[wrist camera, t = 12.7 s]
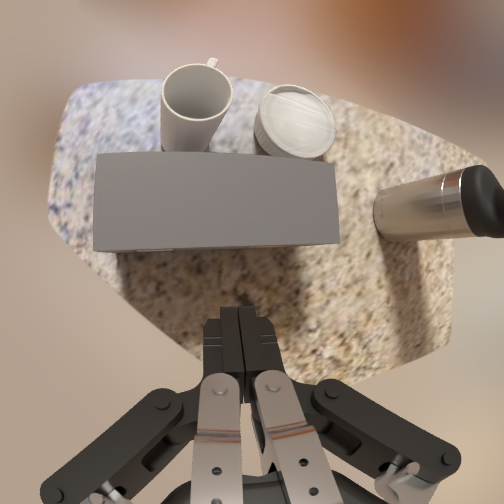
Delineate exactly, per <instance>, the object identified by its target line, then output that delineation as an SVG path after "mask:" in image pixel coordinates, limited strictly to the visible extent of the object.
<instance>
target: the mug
mask: <svg viewBox="0 0 504 504" xmlns="http://www.w3.org/2000/svg"><path fill="white" fill-rule="evenodd" d="M217 64H218V60H217V59H215V58H210V59H209V61H208V63H207V65H205V64H189V65H185V66H182V67H179V68H177V69H176V70H174V71H173V72H171V73H170V74H169V75H168V76H167V78H166V79H165V81H164V83H163V85H162V90H161V130H160V131H161V144H162V147H163V149H164V151H165V152H204V151H205V149H206V148H207V146H208V144H209V143H210V141H211V139H212V137H213V135H214V133H215V132H216V130H217V128H218V126H219V125H220V123H221V121H222V119H223V118H224V116H225V114H226V112H227V110H228V108H229V106H230V105H231V103H232V100H233V87H232V84H231V82H230V80H229V79H228V78H227V76H226V75H225V74H224V73H222V72H221V71H220V70H218V69H216V66H217Z"/></svg>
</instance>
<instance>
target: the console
mask: <svg viewBox="0 0 504 504" xmlns="http://www.w3.org/2000/svg"><path fill="white" fill-rule="evenodd" d="M337 243H340V236H339V218H338V204H337V191H336V180H335V170H334V163H328V162H320V161H312V160H304V159H295V158H286V157H276V156H264V155H252V154H236V153H216V152H124V153H105V154H97V161H96V172H95V186H94V207H93V251H98V252H109V253H133V252H161V251H140V250H167V251H189V250H218V249H248V247H257V248H279V247H260V246H282V247H297V246H310V245H323V244H337ZM168 249H174V250H168Z"/></svg>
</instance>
